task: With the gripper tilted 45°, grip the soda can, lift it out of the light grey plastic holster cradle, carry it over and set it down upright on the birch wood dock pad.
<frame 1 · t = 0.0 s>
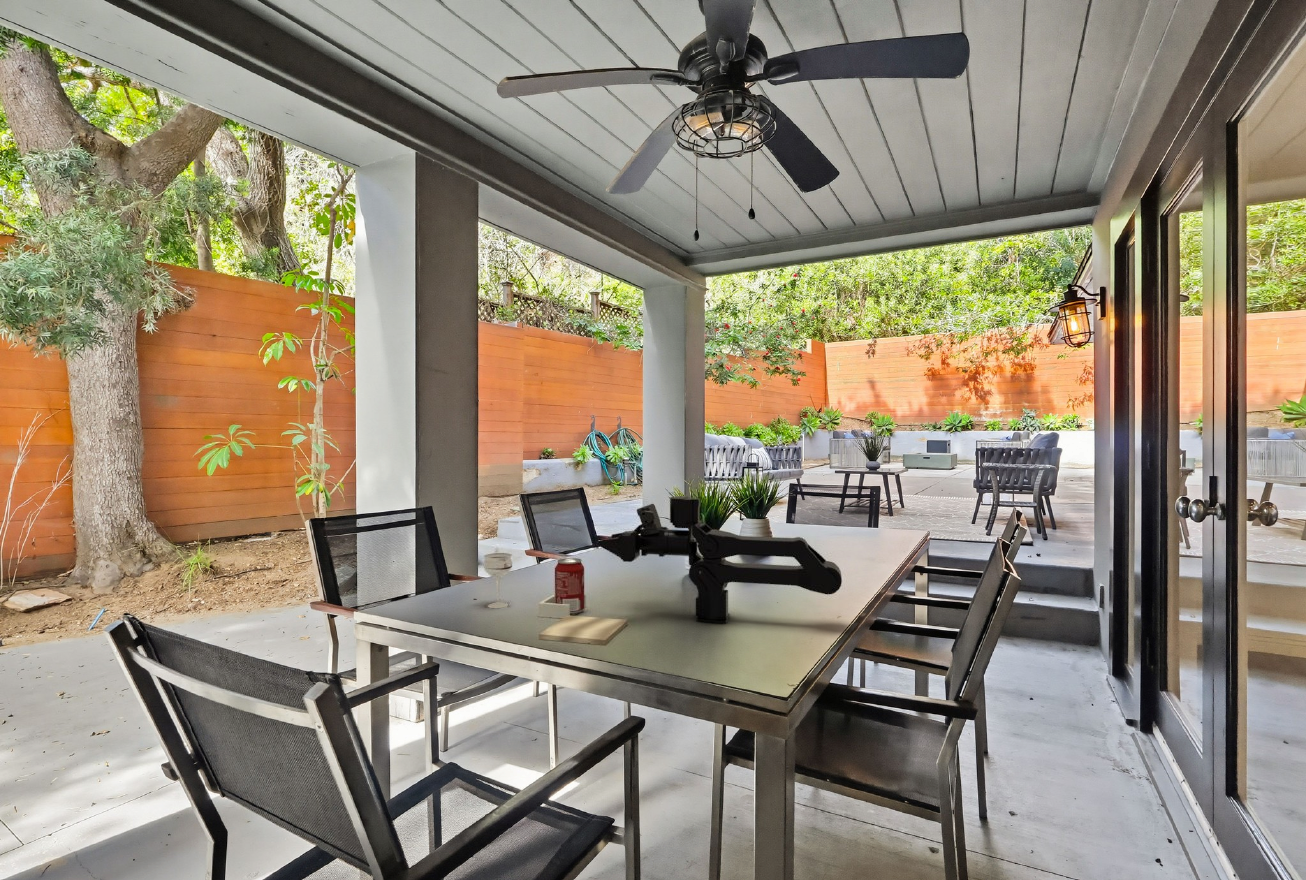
hand: (605, 539, 147), 17 cm above the table, tool horizontal, fingers open, 9 cm apart
wineglass: (498, 606, 152), on the table
dock pad: (585, 631, 131), on the table
holster: (569, 612, 146), on the table
soda can: (569, 613, 146), resting in holster
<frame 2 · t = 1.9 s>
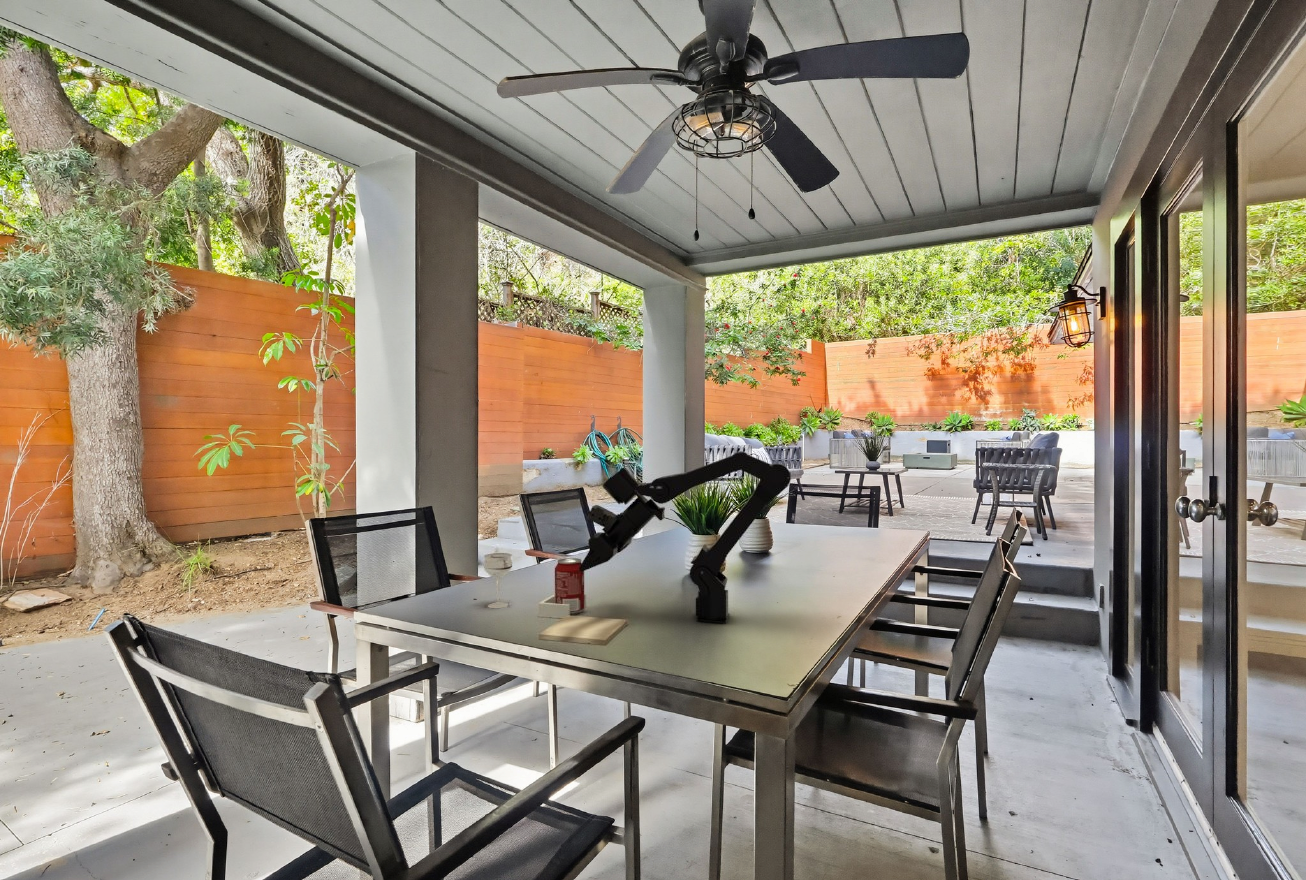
hand: (586, 566, 145), 11 cm above the table, tool tilted 45°, fingers open, 9 cm apart
nothing on the table moved.
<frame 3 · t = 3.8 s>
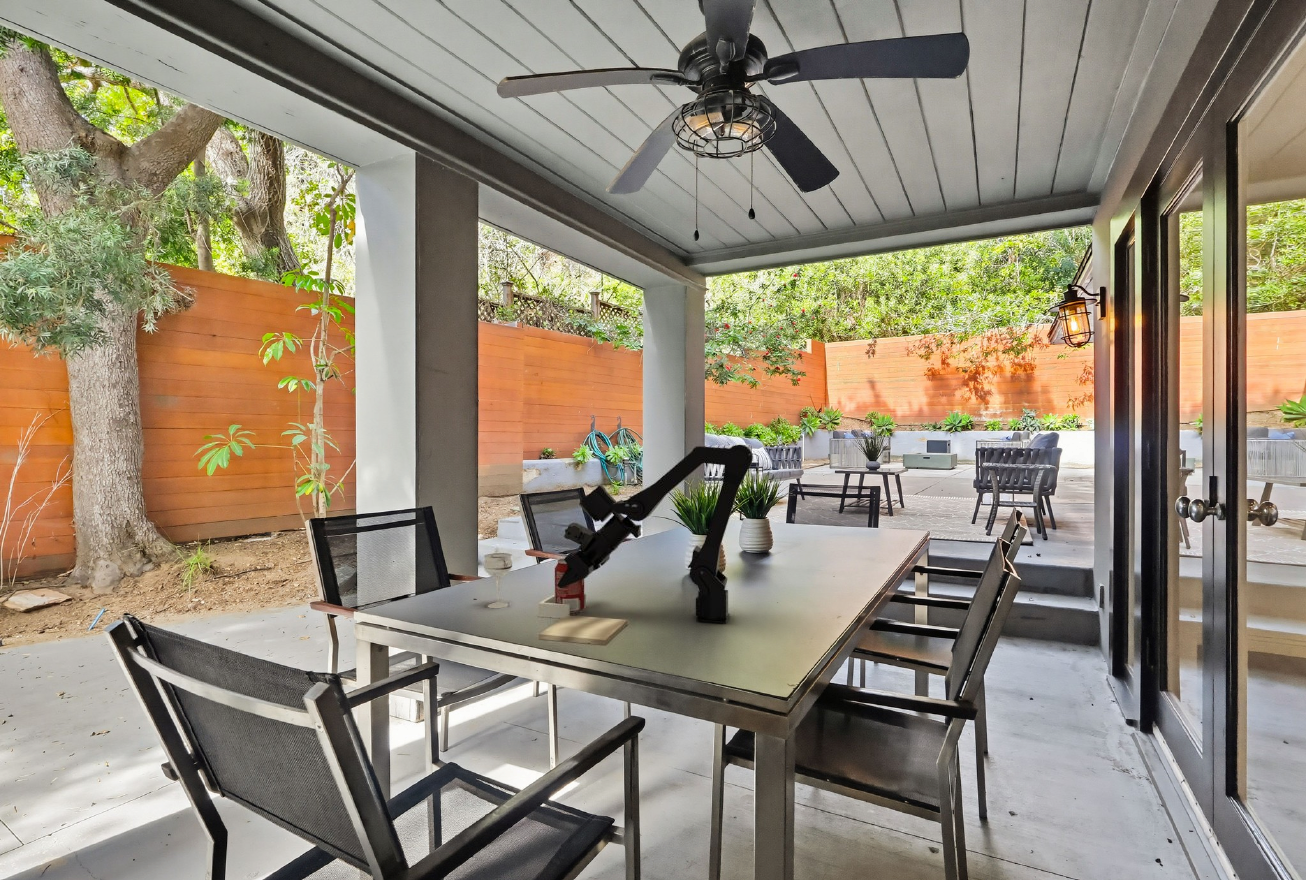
hand: (563, 583, 146), 7 cm above the table, tool tilted 45°, fingers closed on soda can, 7 cm apart
soda can: (569, 612, 146), resting in holster, touching gripper
everything else where it was.
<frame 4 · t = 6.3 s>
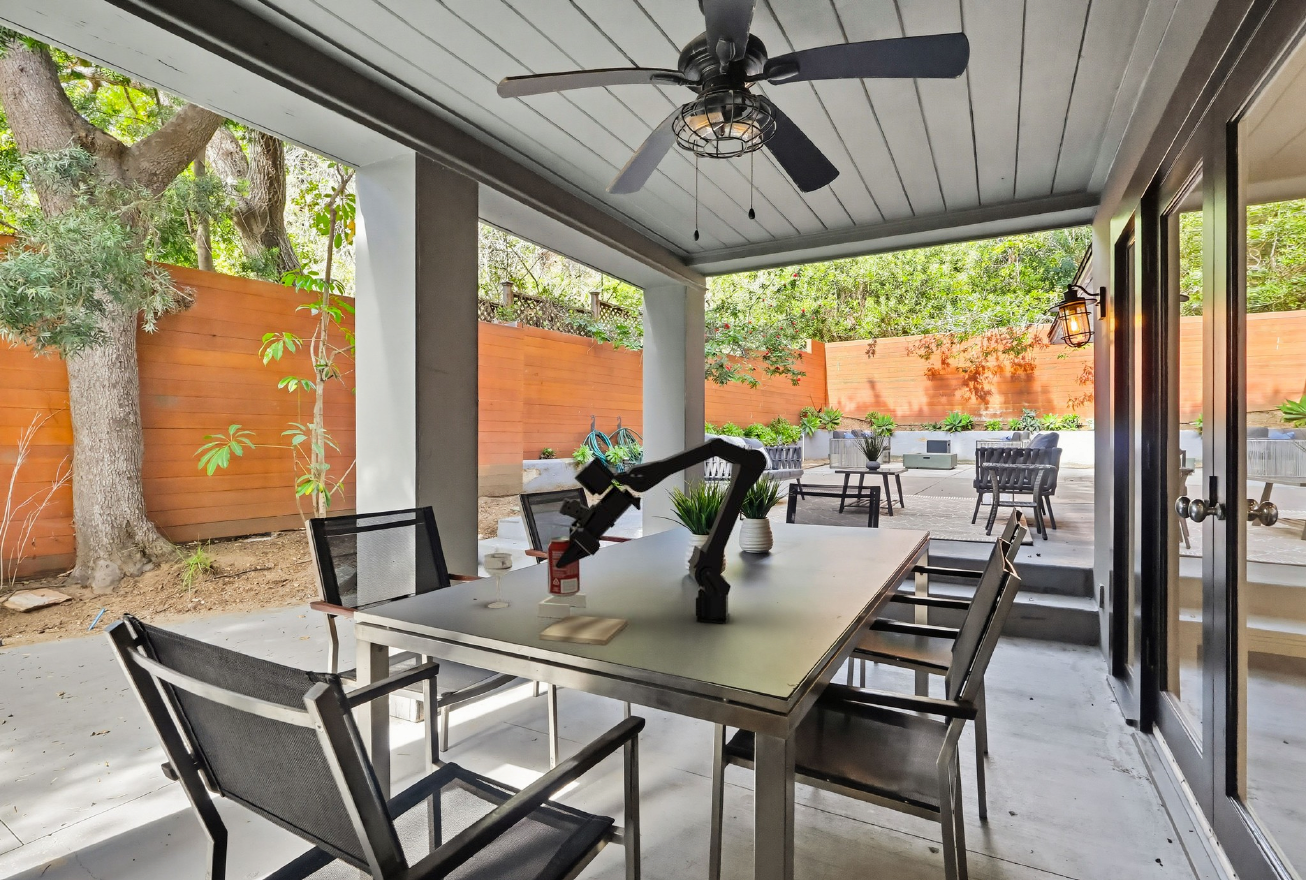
hand: (557, 563, 135), 13 cm above the table, tool tilted 45°, fingers closed on soda can, 7 cm apart
soda can: (563, 595, 135), point 6 cm above the table, touching gripper
everything else where it was.
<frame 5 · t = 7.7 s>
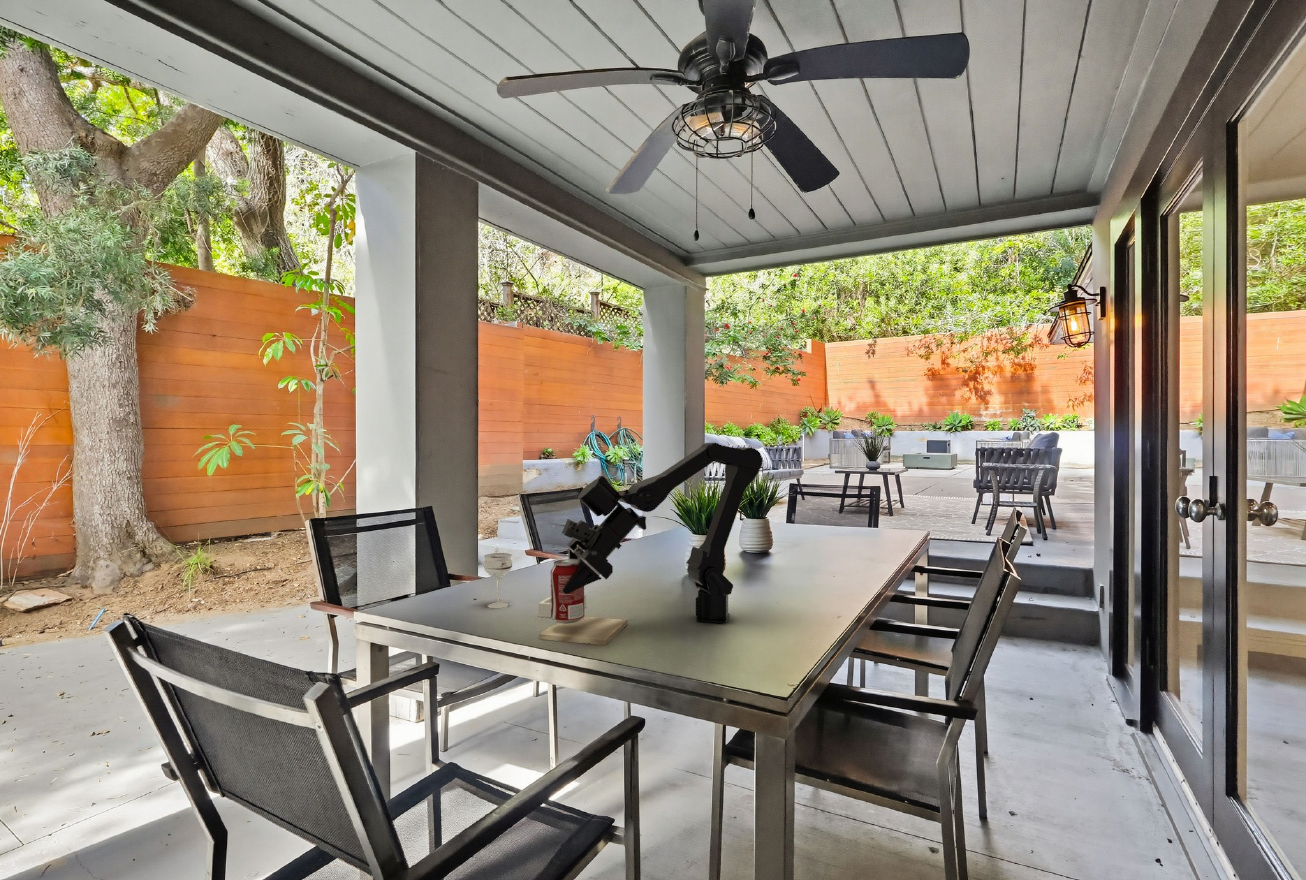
hand: (560, 588, 129), 9 cm above the table, tool tilted 45°, fingers closed on soda can, 7 cm apart
soda can: (567, 621, 129), point 3 cm above the table, touching gripper
everything else where it was.
when the fingers open (8 cm above the table, at t = 8.9 s): soda can stays where it is, resting on dock pad.
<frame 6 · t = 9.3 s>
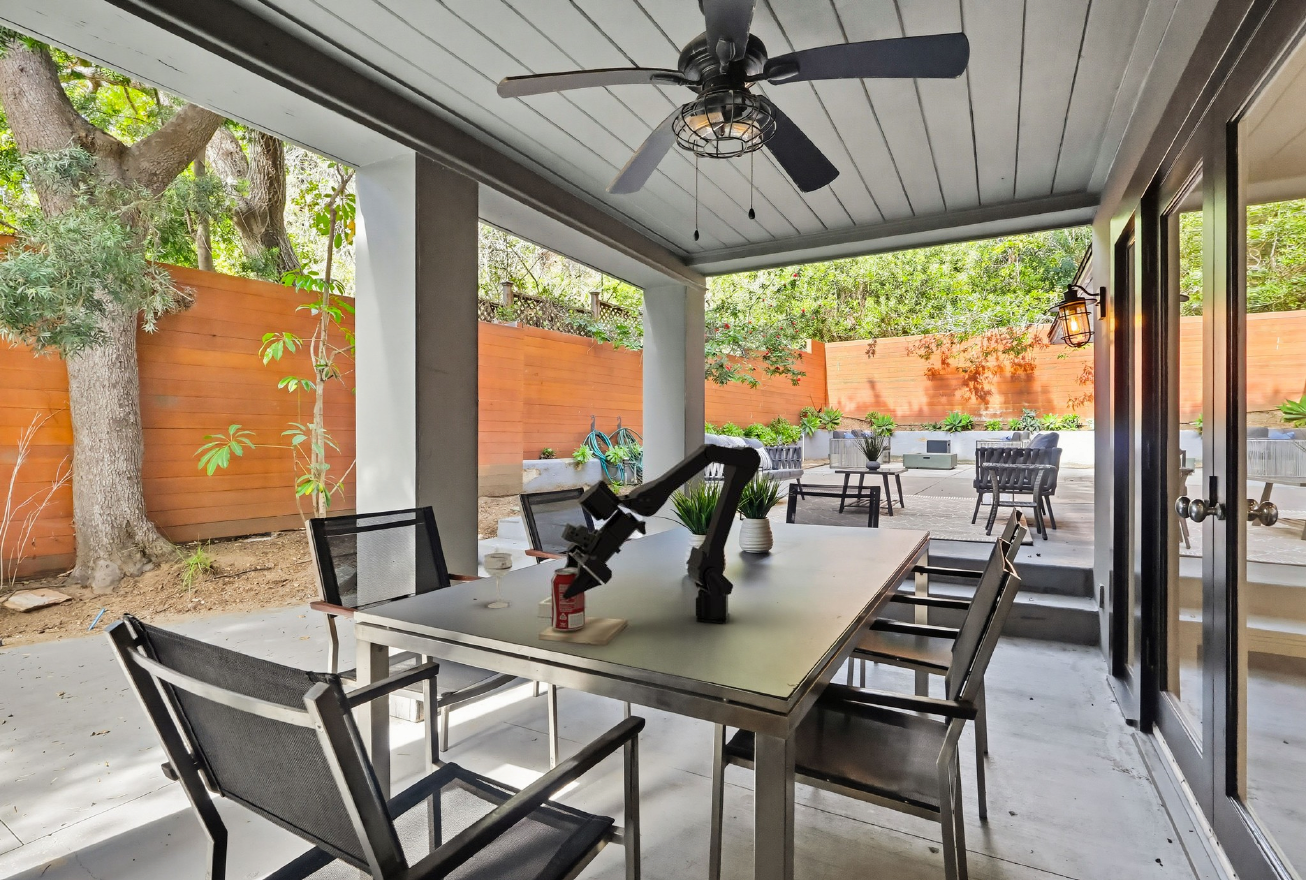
hand: (559, 592, 129), 9 cm above the table, tool tilted 45°, fingers open, 9 cm apart
soda can: (568, 629, 129), point 1 cm above the table, touching dock pad
everything else where it was.
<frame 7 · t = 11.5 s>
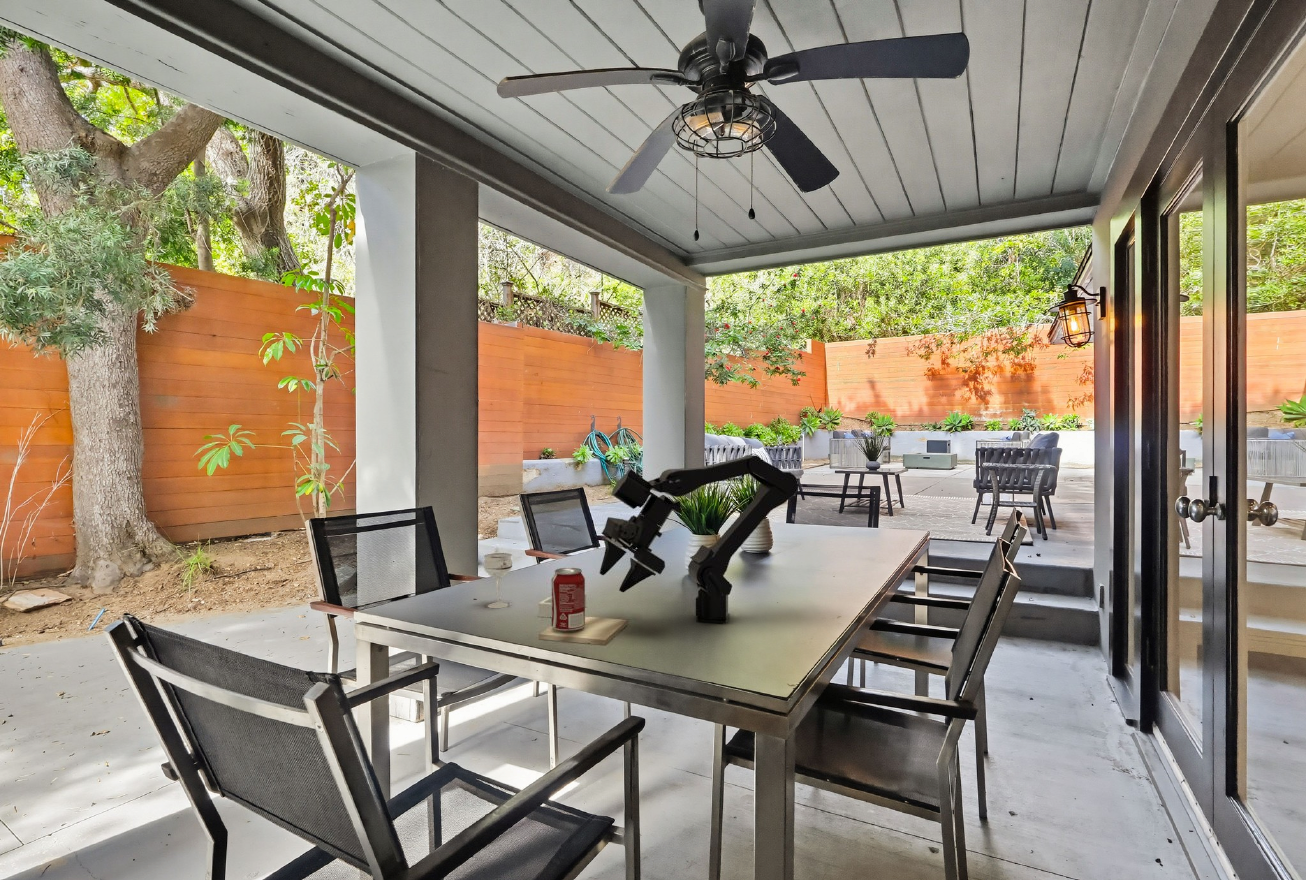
hand: (610, 582, 134), 9 cm above the table, tool tilted 35°, fingers open, 9 cm apart
nothing on the table moved.
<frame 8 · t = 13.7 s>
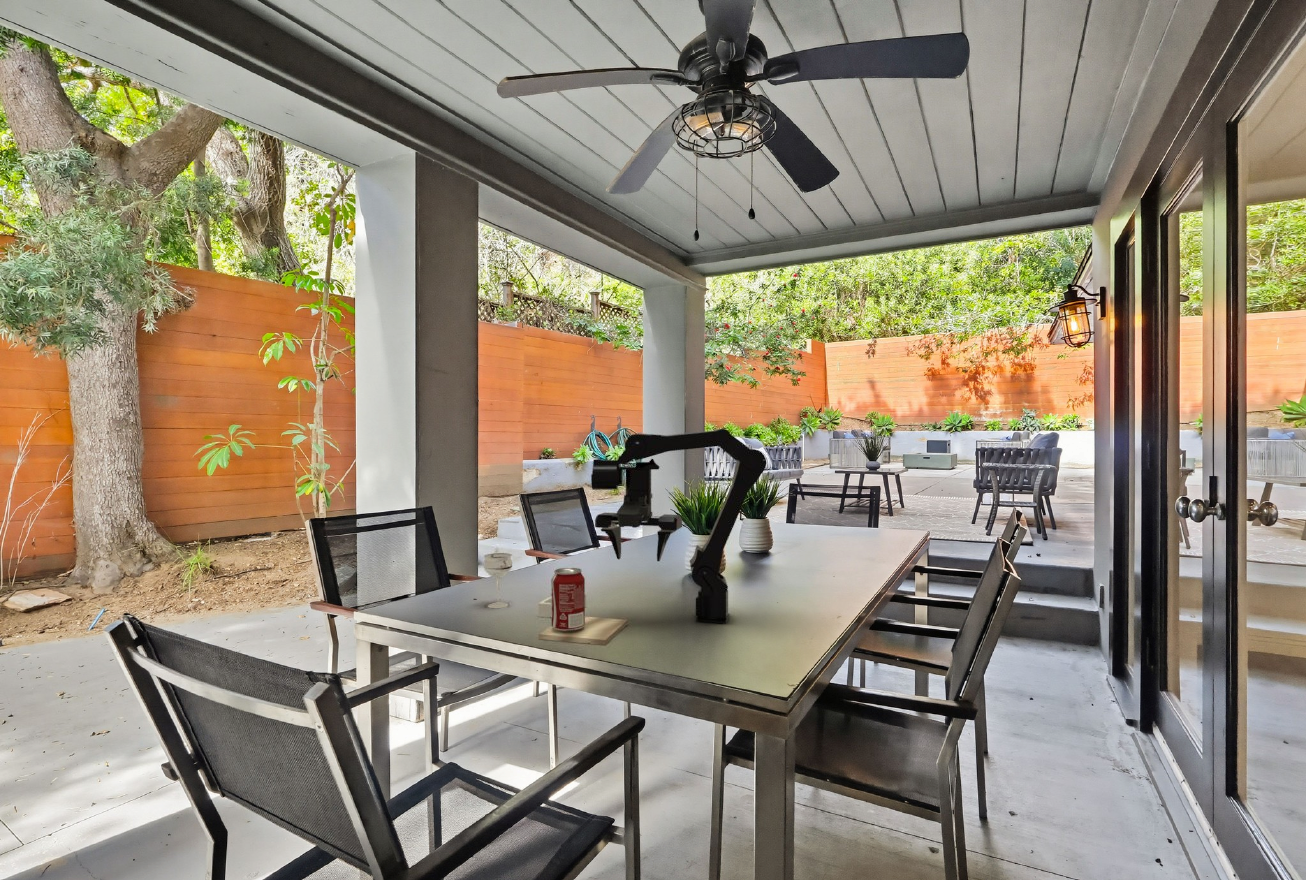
hand: (638, 560, 140), 13 cm above the table, tool pointing down, fingers open, 9 cm apart
nothing on the table moved.
at the end: soda can inside the target area on the dock pad (1.9 cm from its centre), point 0.8 cm above the dock pad's base; soda can tilted 0°; the gripper is holding nothing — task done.
